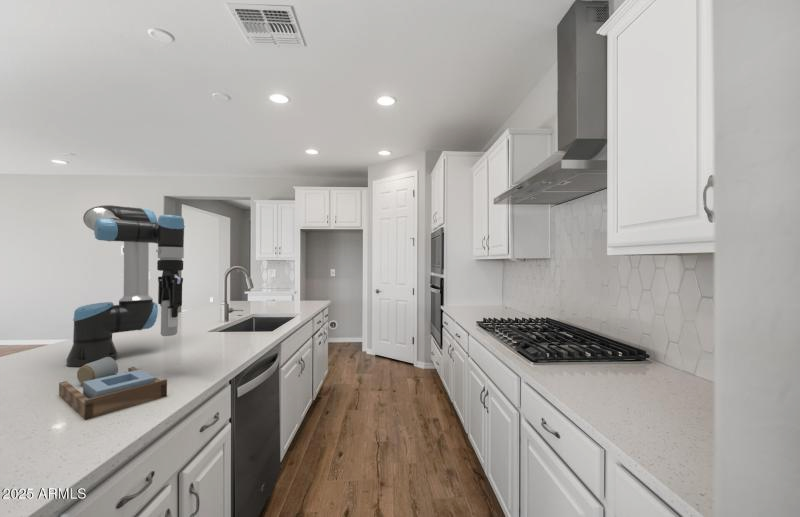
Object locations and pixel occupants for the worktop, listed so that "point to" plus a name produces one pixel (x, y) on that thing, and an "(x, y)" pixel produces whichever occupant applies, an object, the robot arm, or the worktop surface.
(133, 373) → the blue recessed block
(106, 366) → the ceramic mug
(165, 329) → the beverage can
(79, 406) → the bay
